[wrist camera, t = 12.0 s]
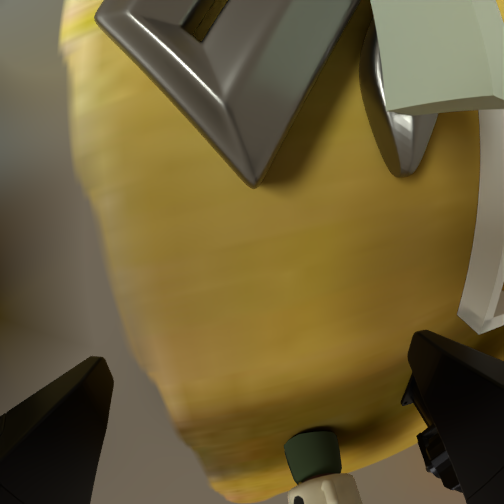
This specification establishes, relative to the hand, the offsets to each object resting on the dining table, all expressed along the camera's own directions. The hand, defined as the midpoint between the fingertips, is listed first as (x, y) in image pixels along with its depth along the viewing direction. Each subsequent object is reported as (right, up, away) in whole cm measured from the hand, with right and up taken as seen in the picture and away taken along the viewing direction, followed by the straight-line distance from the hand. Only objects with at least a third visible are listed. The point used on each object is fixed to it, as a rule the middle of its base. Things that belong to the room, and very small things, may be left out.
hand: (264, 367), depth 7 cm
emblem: (+3, +21, +7) cm, 23 cm away
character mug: (+6, -19, +21) cm, 29 cm away
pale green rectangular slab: (+8, +16, +4) cm, 19 cm away
